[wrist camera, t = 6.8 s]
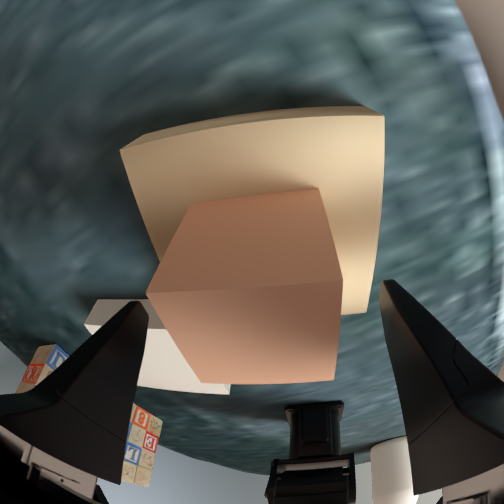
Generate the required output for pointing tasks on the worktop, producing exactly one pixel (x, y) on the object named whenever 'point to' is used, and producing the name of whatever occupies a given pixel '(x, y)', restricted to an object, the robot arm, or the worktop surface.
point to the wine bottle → (392, 473)
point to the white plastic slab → (156, 352)
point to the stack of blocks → (140, 428)
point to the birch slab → (271, 175)
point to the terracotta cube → (253, 289)
